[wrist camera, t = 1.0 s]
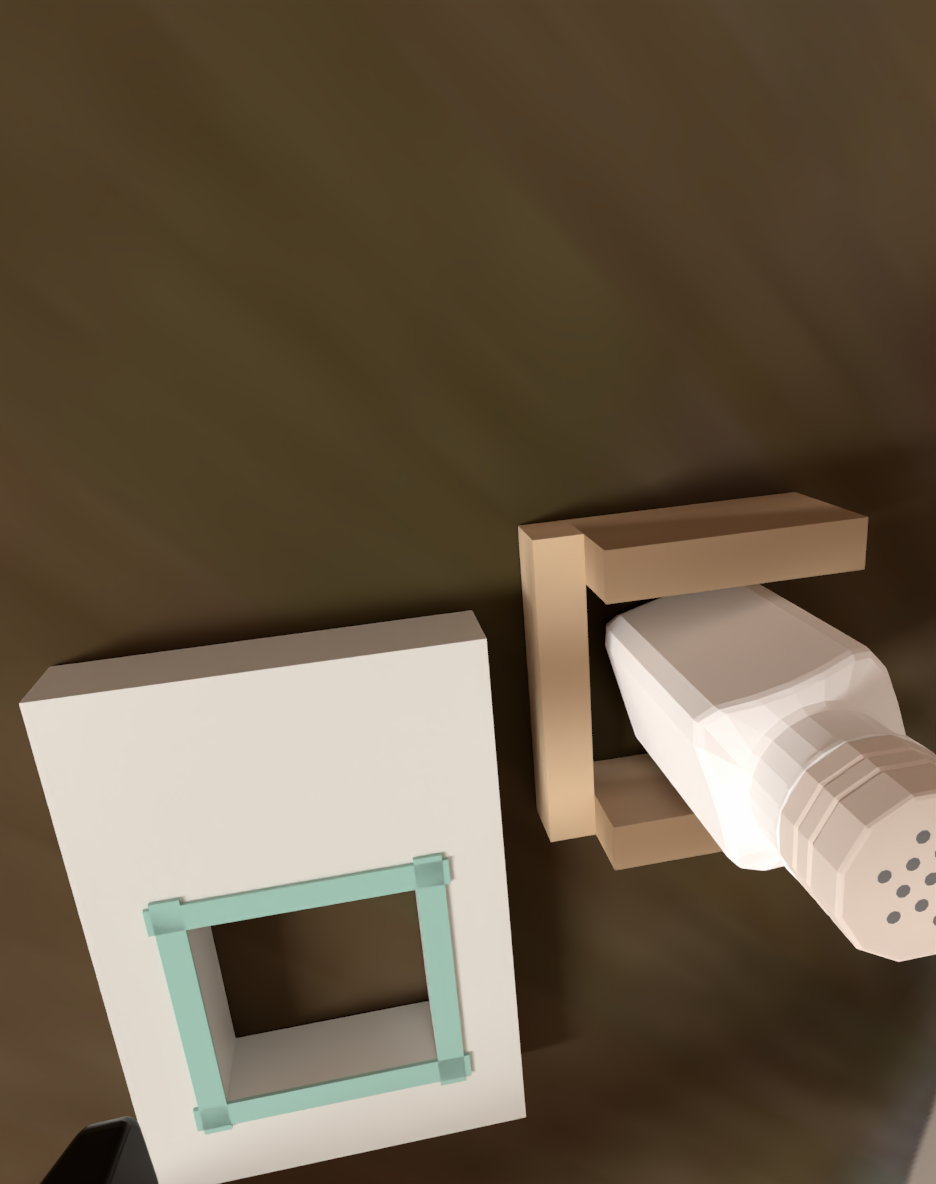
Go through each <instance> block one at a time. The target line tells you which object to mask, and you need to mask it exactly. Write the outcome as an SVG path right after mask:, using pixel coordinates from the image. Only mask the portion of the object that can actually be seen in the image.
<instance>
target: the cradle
mask: <svg viewBox="0 0 936 1184" xmlns="http://www.w3.org/2000/svg"><path fill="white" fill-rule="evenodd" d="M867 530H868V517H867V516H864V515H861V514H858V513H855V512H852V511H849V510H846V509H843V508H840V507H837V506H834V505H832V504H829V503H826V502H823V501H820V500H817V499H814V498H811V497H808V496H805V495H802V494H799V493H796V492H791V493H783V494H774V495H766V496H758V497H750V498H741V499H733V500H725V501H717V502H709V503H700V504H692V505H684V506H676V507H667V508H659V509H651V510H643V511H635V512H626V513H618V514H610V515H602V516H593V517H585V518H577V519H569V520H560V521H552V522H544V523H536V524H528V525H519V526H518V534H519V549H520V564H521V579H522V594H523V610H524V625H525V640H526V655H527V670H528V685H529V700H530V715H531V730H532V745H533V760H534V775H535V791H536V806H537V812H538V814H539V816H540V818H541V821H542V823H543V825H544V828H545V830H546V832H547V835H548V837H549V839H550V841H551V842H555V841H560V840H566V839H572V838H578V837H584V836H589V835H595V834H596V835H597V837H598V839H599V841H600V843H601V845H602V847H603V849H604V850H605V852H606V854H607V856H608V858H609V860H610V862H611V864H612V865H613V867H614V869H615V870H620V869H626V868H631V867H637V866H642V865H648V864H654V863H659V862H665V861H670V860H676V859H682V858H687V857H693V856H698V855H704V854H709V853H715V852H721V851H722V849H721V848H720V847H719V845H718V844H717V843H716V841H715V840H714V839H713V837H712V836H711V835H710V833H709V832H708V831H707V830H706V828H705V827H704V826H703V824H702V823H701V822H700V820H699V819H698V818H697V816H696V815H695V814H694V812H693V811H692V810H691V808H690V807H689V806H688V805H687V803H686V802H685V801H684V799H683V798H682V797H681V795H680V794H679V793H678V791H677V790H676V789H675V787H674V786H673V785H672V784H671V782H670V781H669V780H668V778H667V777H666V776H665V774H664V773H663V772H662V770H661V769H660V768H659V766H658V765H657V764H656V762H655V761H654V760H653V759H652V757H651V756H650V755H649V753H646V754H640V755H633V756H627V757H621V758H615V759H609V760H602V761H596V762H593V748H592V724H591V699H590V674H589V649H588V624H587V599H586V585H587V586H588V587H589V588H590V589H591V590H592V591H593V592H594V593H595V594H596V595H597V596H598V597H599V598H600V599H601V600H603V601H604V602H605V603H606V604H614V603H621V602H628V601H636V600H643V599H650V598H658V597H665V596H673V595H680V594H687V593H695V592H702V591H709V590H717V589H724V588H731V587H739V586H746V585H753V584H761V583H768V582H776V581H783V580H790V579H798V578H805V577H812V576H820V575H827V574H834V573H842V572H849V571H856V570H864V569H865V558H866V544H867Z"/></svg>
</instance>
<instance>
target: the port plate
mask: <svg viewBox="0 0 936 1184" xmlns="http://www.w3.org/2000/svg"><path fill="white" fill-rule="evenodd" d="M19 705H20V709H21V712H22V716H23V719H24V723H25V726H26V730H27V734H28V737H29V741H30V744H31V748H32V751H33V755H34V758H35V762H36V765H37V769H38V772H39V776H40V779H41V783H42V786H43V790H44V793H45V797H46V800H47V804H48V807H49V811H50V814H51V818H52V821H53V825H54V829H55V832H56V836H57V839H58V843H59V846H60V850H61V853H62V857H63V860H64V864H65V867H66V871H67V874H68V878H69V881H70V885H71V888H72V892H73V895H74V899H75V902H76V906H77V909H78V913H79V917H80V920H81V924H82V927H83V931H84V934H85V938H86V941H87V945H88V948H89V952H90V955H91V959H92V962H93V966H94V969H95V973H96V976H97V980H98V983H99V987H100V990H101V994H102V997H103V1001H104V1005H105V1008H106V1012H107V1015H108V1019H109V1022H110V1026H111V1029H112V1033H113V1036H114V1040H115V1043H116V1047H117V1050H118V1054H119V1057H120V1061H121V1064H122V1068H123V1071H124V1075H125V1078H126V1082H127V1085H128V1089H129V1092H130V1096H131V1100H132V1103H133V1107H134V1110H135V1114H136V1117H137V1121H138V1124H139V1126H140V1128H141V1131H142V1134H143V1137H144V1140H145V1143H146V1146H147V1149H148V1152H149V1155H150V1158H151V1161H152V1164H153V1167H154V1170H155V1173H156V1176H157V1179H158V1183H159V1184H219V1183H223V1182H228V1181H233V1180H237V1179H242V1178H247V1177H251V1176H256V1175H261V1174H265V1173H270V1172H274V1171H279V1170H284V1169H288V1168H293V1167H298V1166H302V1165H307V1164H312V1163H316V1162H321V1161H325V1160H330V1159H335V1158H339V1157H344V1156H349V1155H353V1154H358V1153H363V1152H367V1151H372V1150H377V1149H381V1148H386V1147H390V1146H395V1145H400V1144H404V1143H409V1142H414V1141H418V1140H423V1139H428V1138H432V1137H437V1136H441V1135H446V1134H451V1133H455V1132H460V1131H465V1130H469V1129H474V1128H479V1127H483V1126H488V1125H493V1124H497V1123H502V1122H506V1121H511V1120H516V1119H520V1118H525V1117H526V1110H525V1098H524V1086H523V1074H522V1062H521V1050H520V1038H519V1025H518V1013H517V1001H516V989H515V977H514V965H513V953H512V940H511V928H510V916H509V904H508V892H507V880H506V868H505V856H504V843H503V831H502V819H501V807H500V795H499V783H498V771H497V758H496V746H495V734H494V722H493V710H492V698H491V686H490V673H489V661H488V649H487V638H486V636H485V634H484V632H483V631H482V629H481V627H480V625H479V623H478V621H477V619H476V617H475V615H474V613H473V611H472V610H469V611H462V612H454V613H447V614H439V615H432V616H425V617H417V618H410V619H402V620H395V621H387V622H380V623H372V624H365V625H357V626H350V627H342V628H335V629H328V630H320V631H313V632H305V633H298V634H290V635H283V636H275V637H268V638H260V639H253V640H245V641H238V642H231V643H223V644H216V645H208V646H201V647H193V648H186V649H178V650H171V651H163V652H156V653H148V654H141V655H133V656H126V657H119V658H111V659H104V660H96V661H89V662H81V663H74V664H66V665H59V666H51V667H49V668H48V669H47V671H46V672H45V673H44V674H43V675H42V677H41V678H40V679H39V680H38V681H37V682H36V684H35V685H34V686H33V687H32V688H31V690H30V691H29V692H28V693H27V694H26V696H25V697H24V698H23V699H22V700H21V702H20V703H19ZM411 890H415V893H416V901H417V909H418V917H419V925H420V933H421V941H422V949H423V957H424V965H425V973H426V981H427V989H428V997H429V1001H425V1002H420V1003H415V1004H409V1005H404V1006H399V1007H394V1008H389V1009H384V1010H379V1011H373V1012H368V1013H363V1014H358V1015H353V1016H348V1017H343V1018H337V1019H332V1020H327V1021H322V1022H317V1023H312V1024H306V1025H301V1026H296V1027H291V1028H286V1029H281V1030H276V1031H270V1032H265V1033H260V1034H255V1035H250V1036H245V1037H239V1038H235V1033H234V1029H233V1024H232V1020H231V1015H230V1011H229V1006H228V1002H227V997H226V993H225V989H224V984H223V980H222V975H221V971H220V966H219V962H218V957H217V953H216V948H215V944H214V939H213V935H212V930H211V926H213V925H218V924H224V923H230V922H235V921H241V920H247V919H252V918H258V917H264V916H269V915H275V914H281V913H287V912H292V911H298V910H304V909H309V908H315V907H321V906H326V905H332V904H338V903H343V902H349V901H355V900H360V899H366V898H372V897H377V896H383V895H389V894H394V893H400V892H406V891H411Z"/></svg>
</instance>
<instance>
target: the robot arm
mask: <svg viewBox="0 0 936 1184" xmlns="http://www.w3.org/2000/svg"><path fill="white" fill-rule="evenodd" d="M40 1184H159V1183H158V1179H157V1176H156V1173H155V1170H154V1167H153V1164H152V1161H151V1158H150V1155H149V1152H148V1149H147V1146H146V1143H145V1140H144V1137H143V1134H142V1131H141V1128H140V1126H139V1124H138V1122H137V1121H136V1120H135V1119H134V1118H133V1117H127V1116H126V1117H121V1118H117V1119H112V1120H107V1121H103V1122H98V1123H94V1124H91V1125H88V1126H87V1127H85V1128H84V1129H82V1130H81V1131H80V1132H79V1133H78V1134H77V1135H76V1136H75V1138H74V1139H73V1140H72V1142H71V1143H70V1144H69V1146H68V1147H67V1148H66V1150H65V1151H64V1152H63V1154H62V1155H61V1156H60V1158H59V1159H58V1160H57V1162H56V1163H55V1164H54V1166H53V1167H52V1168H51V1170H50V1171H49V1172H48V1174H47V1175H46V1176H45V1177H44V1179H43V1180H42V1181H41V1183H40Z"/></svg>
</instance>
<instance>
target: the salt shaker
mask: <svg viewBox="0 0 936 1184" xmlns="http://www.w3.org/2000/svg"><path fill="white" fill-rule="evenodd" d="M605 647H606V650H607V653H608V656H609V659H610V662H611V665H612V668H613V671H614V674H615V677H616V680H617V683H618V686H619V689H620V692H621V695H622V698H623V701H624V704H625V707H626V710H627V713H628V716H629V719H630V722H631V725H632V727H633V730H634V733H635V736H636V738H637V739H638V740H639V741H640V743H641V744H642V745H643V747H644V748H645V749H646V751H647V752H648V753H649V755H650V756H651V757H652V759H653V760H654V761H655V762H656V764H657V765H658V766H659V768H660V769H661V770H662V772H663V773H664V774H665V776H666V777H667V778H668V780H669V781H670V782H671V784H672V785H673V786H674V787H675V789H676V790H677V791H678V793H679V794H680V795H681V797H682V798H683V799H684V801H685V802H686V803H687V805H688V806H689V807H690V808H691V810H692V811H693V812H694V814H695V815H696V816H697V818H698V819H699V820H700V822H701V823H702V824H703V826H704V827H705V828H706V830H707V831H708V832H709V833H710V835H711V836H712V837H713V839H714V840H715V841H716V843H717V844H718V845H719V847H720V848H721V849H722V851H723V852H724V853H725V854H726V856H727V857H728V858H729V859H730V860H731V861H733V862H734V863H735V864H736V865H737V866H739V867H740V868H744V869H753V870H762V871H766V870H770V869H774V868H778V867H782V866H785V868H786V869H787V870H788V871H789V872H790V873H791V874H792V875H793V876H794V877H795V878H796V879H797V880H798V881H799V882H800V883H801V885H802V886H803V887H804V888H805V889H806V890H807V892H808V893H809V894H810V895H811V896H812V897H813V898H814V899H815V900H816V902H817V903H818V904H819V906H820V907H821V908H822V909H823V910H824V911H825V913H826V914H827V915H829V916H830V918H831V919H832V921H833V922H834V923H835V924H836V925H837V927H838V928H839V929H840V930H841V931H842V932H843V934H844V935H845V936H846V937H847V938H848V939H849V941H850V942H851V943H852V944H853V945H854V946H855V948H856V949H859V950H862V951H865V952H868V953H872V954H875V955H878V956H881V957H885V958H888V959H891V960H894V961H897V962H901V961H906V960H911V959H915V958H920V957H925V956H930V955H934V954H936V754H934V753H933V752H931V751H930V750H929V749H927V748H926V747H924V746H923V745H921V744H919V743H918V742H916V741H914V740H913V739H911V738H910V737H908V736H906V735H905V730H904V726H903V722H902V718H901V713H900V709H899V705H898V702H897V699H896V695H895V692H894V689H893V686H892V683H891V680H890V677H889V674H888V671H887V669H886V667H885V666H884V665H883V664H882V663H881V661H880V660H879V659H878V658H877V657H876V656H875V655H874V654H873V653H872V652H871V651H870V650H869V648H868V647H867V646H865V645H863V644H861V643H860V642H858V641H856V640H855V639H853V638H851V637H849V636H848V635H846V634H844V633H843V632H841V631H839V630H837V629H836V628H834V627H832V626H831V625H829V624H827V623H825V622H824V621H822V620H820V619H818V618H817V617H815V616H813V615H812V614H810V613H808V612H806V611H805V610H803V609H801V608H800V607H798V606H796V605H794V604H793V603H791V602H789V601H788V600H786V599H784V598H782V597H781V596H779V595H777V594H776V593H774V592H772V591H770V590H769V589H767V588H765V587H764V586H762V585H760V584H753V585H746V586H739V587H731V588H724V589H717V590H709V591H702V592H695V593H687V594H680V595H673V596H665V597H661V598H658V599H656V600H653V601H651V602H648V603H646V604H644V605H641V606H639V607H636V608H634V609H631V610H629V611H627V612H624V613H622V614H619V615H617V616H615V617H614V618H613V619H612V620H611V621H609V622H608V623H607V624H606V638H605Z"/></svg>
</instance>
